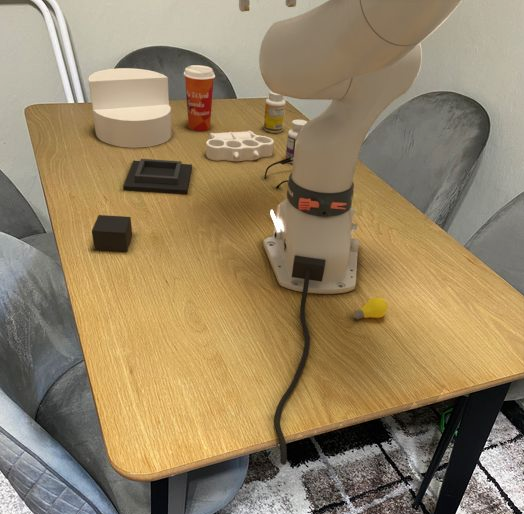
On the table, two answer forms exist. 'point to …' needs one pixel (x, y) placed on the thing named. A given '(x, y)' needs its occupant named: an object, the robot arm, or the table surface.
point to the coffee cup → (199, 96)
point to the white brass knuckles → (238, 146)
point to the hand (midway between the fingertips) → (267, 8)
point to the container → (130, 107)
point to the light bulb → (372, 309)
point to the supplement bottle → (274, 113)
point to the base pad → (158, 176)
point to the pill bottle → (293, 137)
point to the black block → (112, 233)
